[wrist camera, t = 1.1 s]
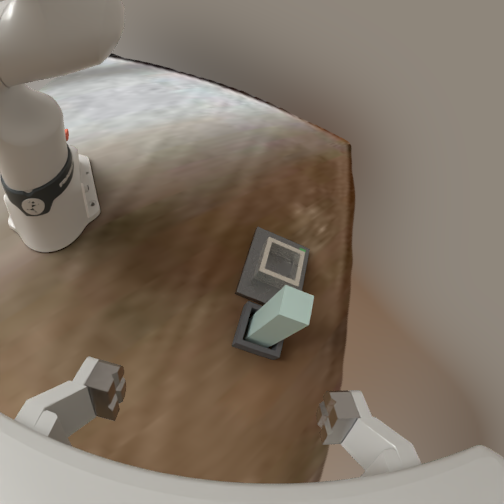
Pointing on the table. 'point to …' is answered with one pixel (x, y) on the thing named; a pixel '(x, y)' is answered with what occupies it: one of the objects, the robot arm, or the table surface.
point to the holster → (249, 346)
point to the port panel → (271, 267)
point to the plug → (280, 317)
